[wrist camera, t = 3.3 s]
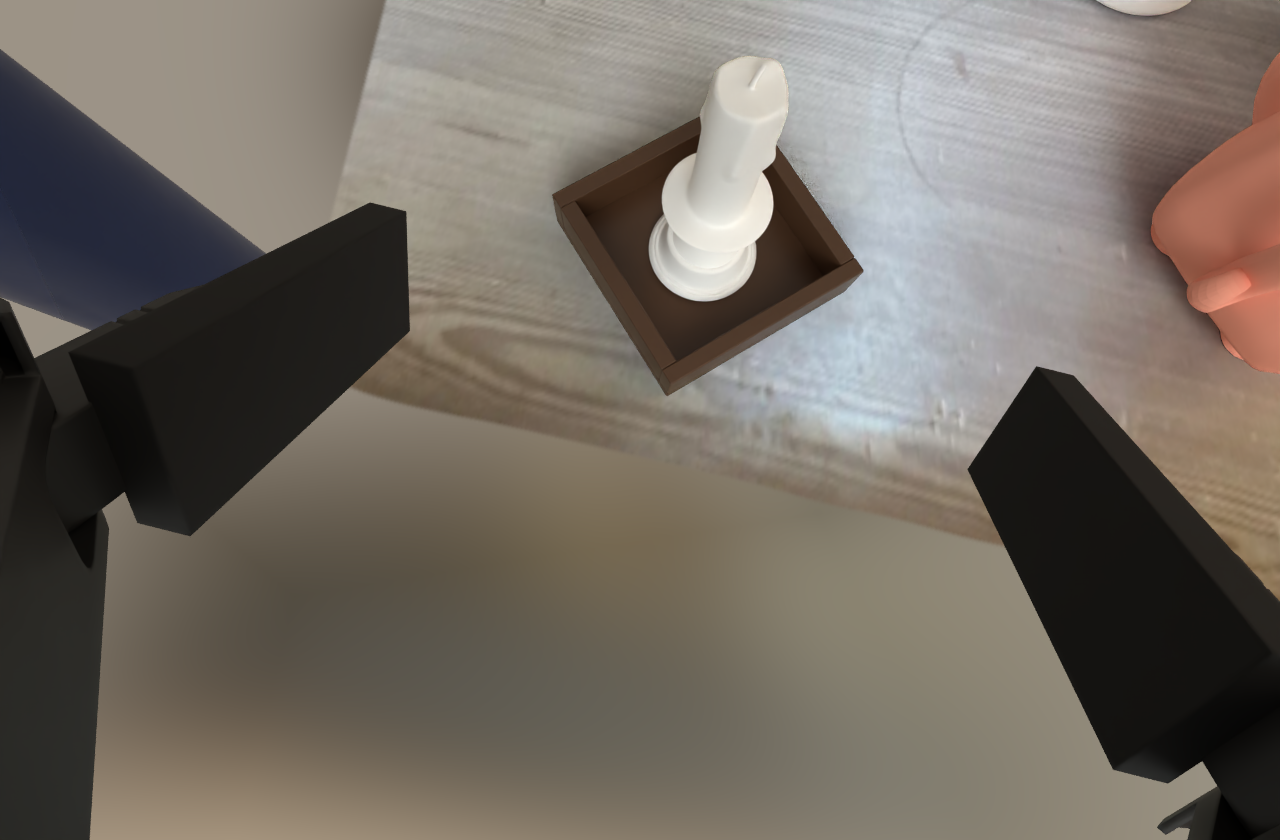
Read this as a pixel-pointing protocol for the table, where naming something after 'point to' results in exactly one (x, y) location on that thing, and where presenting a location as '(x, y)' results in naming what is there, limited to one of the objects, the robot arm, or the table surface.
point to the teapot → (1233, 232)
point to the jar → (1145, 6)
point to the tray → (682, 328)
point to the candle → (722, 184)
